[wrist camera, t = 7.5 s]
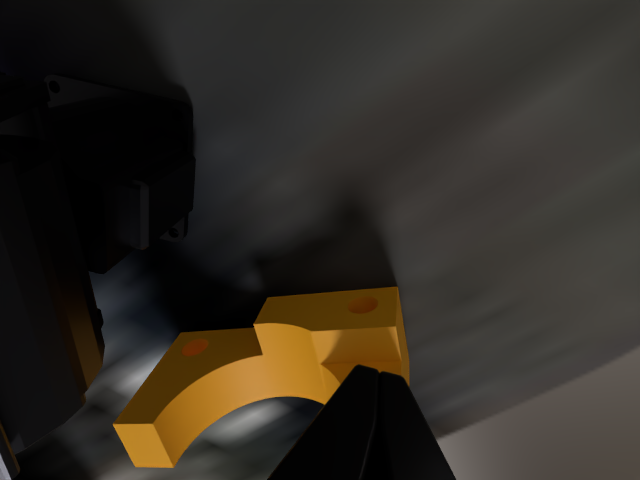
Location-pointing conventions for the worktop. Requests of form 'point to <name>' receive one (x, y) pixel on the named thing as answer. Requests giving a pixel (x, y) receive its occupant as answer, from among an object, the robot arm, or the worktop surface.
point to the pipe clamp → (261, 366)
